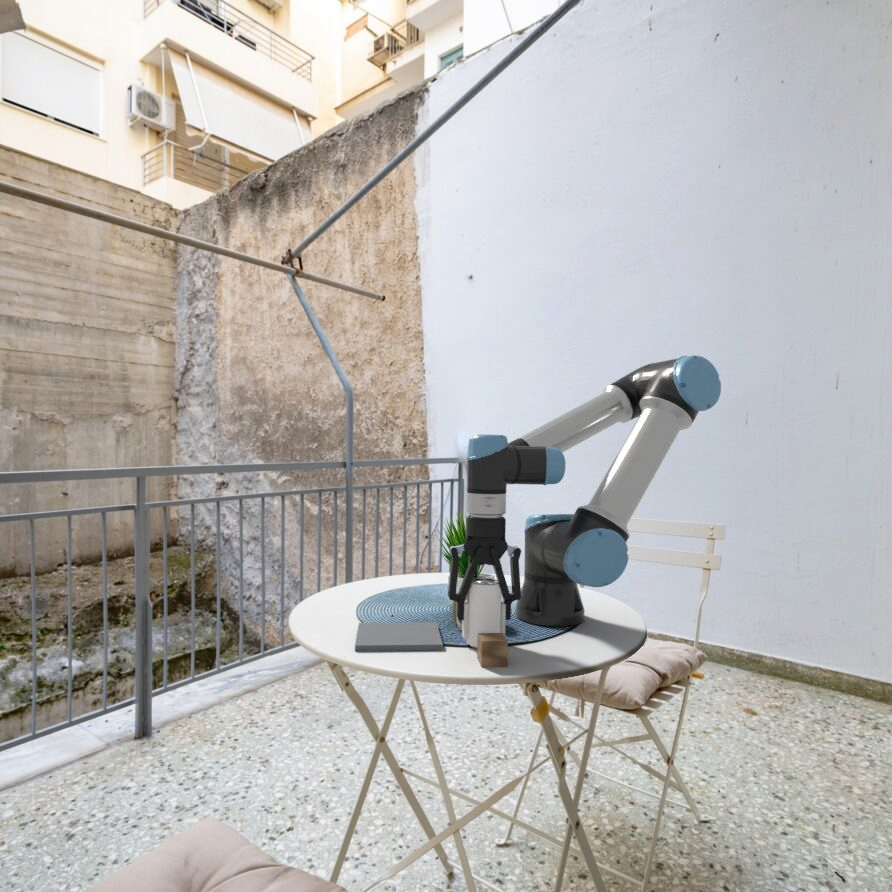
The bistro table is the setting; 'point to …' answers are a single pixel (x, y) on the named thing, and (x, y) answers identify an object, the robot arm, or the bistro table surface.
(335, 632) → the bistro table surface
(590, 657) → the bistro table surface
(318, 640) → the bistro table surface
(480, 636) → the walnut block
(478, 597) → the can
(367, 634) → the mat
